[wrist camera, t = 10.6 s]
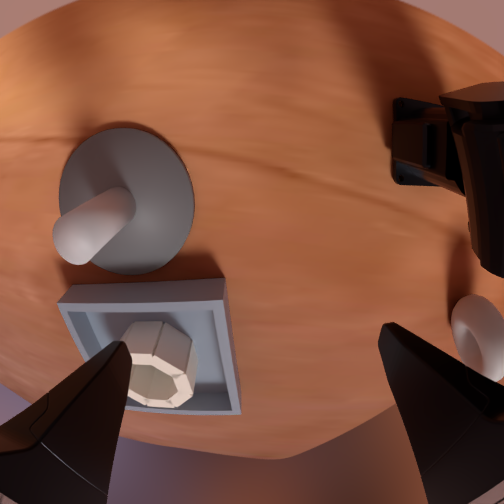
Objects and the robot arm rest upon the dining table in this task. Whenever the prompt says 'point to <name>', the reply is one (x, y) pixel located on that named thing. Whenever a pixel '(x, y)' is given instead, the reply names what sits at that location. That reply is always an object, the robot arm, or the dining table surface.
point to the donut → (479, 335)
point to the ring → (160, 364)
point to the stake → (124, 203)
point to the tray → (167, 310)
